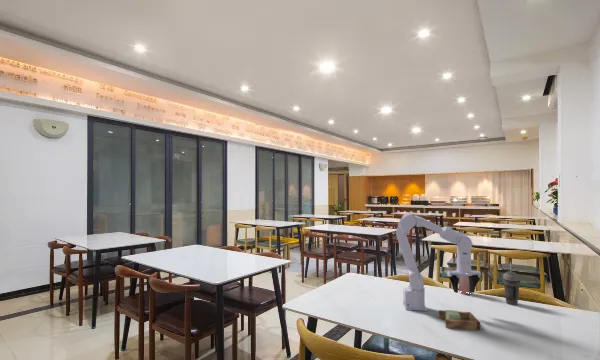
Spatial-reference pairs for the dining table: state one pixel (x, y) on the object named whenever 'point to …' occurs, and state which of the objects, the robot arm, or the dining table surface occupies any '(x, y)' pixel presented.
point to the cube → (452, 315)
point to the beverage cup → (511, 287)
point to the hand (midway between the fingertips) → (463, 292)
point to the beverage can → (464, 285)
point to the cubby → (461, 321)
